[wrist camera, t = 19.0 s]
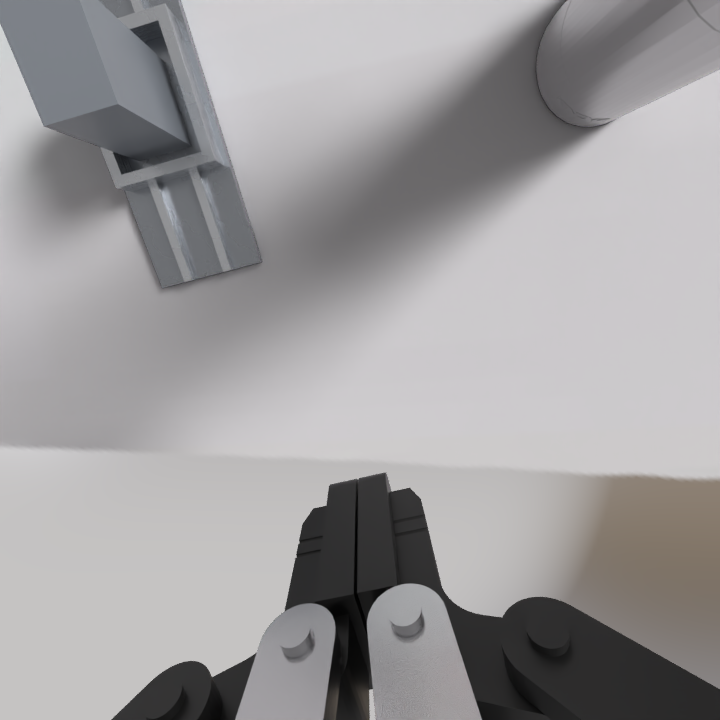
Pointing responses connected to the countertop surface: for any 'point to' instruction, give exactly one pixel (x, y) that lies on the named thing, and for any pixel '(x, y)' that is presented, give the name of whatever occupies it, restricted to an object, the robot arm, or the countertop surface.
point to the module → (94, 77)
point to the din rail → (183, 164)
